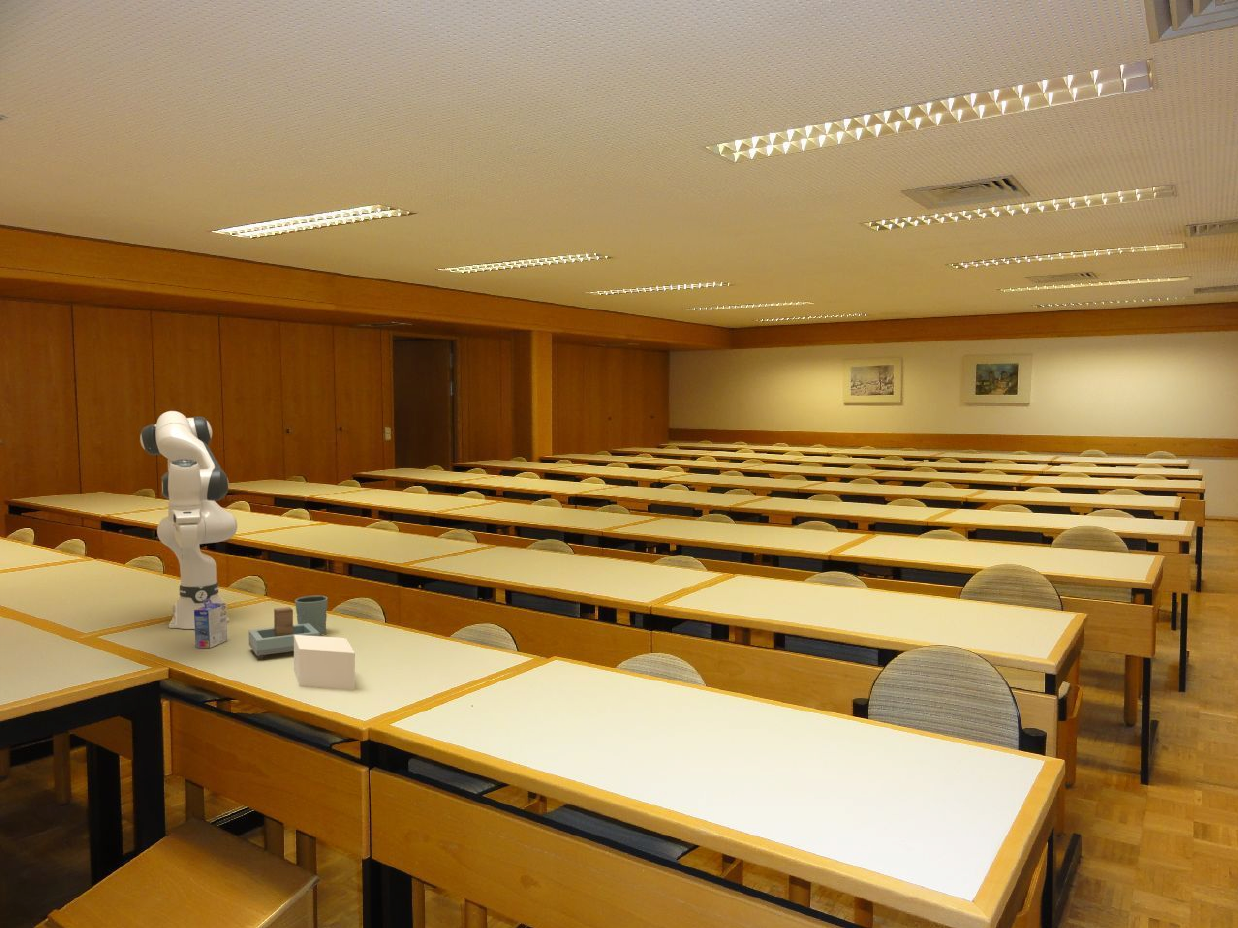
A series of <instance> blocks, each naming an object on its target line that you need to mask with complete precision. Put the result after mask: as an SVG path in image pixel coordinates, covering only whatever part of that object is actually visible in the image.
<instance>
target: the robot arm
mask: <svg viewBox="0 0 1238 928" xmlns="http://www.w3.org/2000/svg"><path fill="white" fill-rule="evenodd" d="M139 437H140V438H139V439H140V440H139V442H140V445H141V447H142V448H143V450H144V451H145V452H146V453H147V454H149V455H151V456H160V455H162V456H163V457H165V458H166V459H167V471H166V472H165V473H164V474H163V475H162V476H161V477H160V479H161V496H162V497H164V498H166V499H167V500H169V501H168V503H167V506H168V507H167V511H168V514H167V515H168V516H165V517H163V518H162V519H161V520H160V521H159V522H158V525H157V527H156V534H157V537H158V540H159V541H160V542H161V543H162V544H163V545H164V546H166V547H168V548H169V549H170V550H171V551H172V552H173V553H174V554H175V556H176V558H177V560H178V563H179V568H180V569H179V570H180V571H179V572H180V585H179V598H178V600H177V601H176V602H175V604H174V605H172V613H174V614H173V616H172V619H171V620H170V622H169V624H168V628H169V629H183V630H184V629H185V630H195V623H194V610H196V609H199V608H201V607H203V606H205V605H204V603H203V601H202V600H204V599H207V598H210V600H211V602H212V603H224V598H222V597H221V596H220V594H218V593H219V582H218V580H217V579H218V578H217V576H218V575H217V562H216V560H215V559H214V558H213V556H211V555H208V554H206V553H204V552H202V551H201V548H200V545H203V544H205V545H206V544H213V543H215V544H216V543H220V542H224V541H227V540H230V539H232V538H233V537H234V536H235V535H236V533H237V530H238V522H237V518H236V517H235V515H233V513H232V512H229V511H228V510H226V509H225V508H223V507H221V506H220V505H219V504H218V503H217V502H219V501H220V500H221V499H223V498H224V497H225V496H227V494H228V492H229V485H230V484H229V479H228V476H227V474H226V472H225V470H223V469H222V468H221V466H220V464H219V463H218V461H217V459H216V457H215V455H214V453H213V452H212V450H211V448H210V447H209V445H210V443H211V442H212V437H213V429H212V426H211V424H210V422H209V421H208V420H207V418H205V417H203V416H193V417H186V415H184V414H183V413H181V412H179V411H176V410H169V411H166V412H163V413H161V414H160V415H159V416H158V418H157V420H156V423H155V424H153V423H152V424H148V425H147V426H144V427H143V428H142V429H141V430H140V436H139ZM205 603H206V604H207V603H210V601H206V602H205ZM228 622H230V617H228V616H227V623H228Z"/></svg>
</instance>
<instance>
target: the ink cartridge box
mask: <svg viewBox="0 0 1238 928" xmlns="http://www.w3.org/2000/svg"><path fill="white" fill-rule="evenodd" d="M202 601H203V603H204V605H205V606H203V607H201V608H199V609H196V610H194V623H195V629H194V640H195V641H194V642H195V648H196V649H212V648H214V647H215V646H218V645H220V644H222V643H225V642H226V641H228V622H227V617H228V615H227V603H224V602H223V603H212V602H211V600H210V598H207V599H204V600H202ZM206 601H210V603H207V604H206V603H205V602H206Z"/></svg>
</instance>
